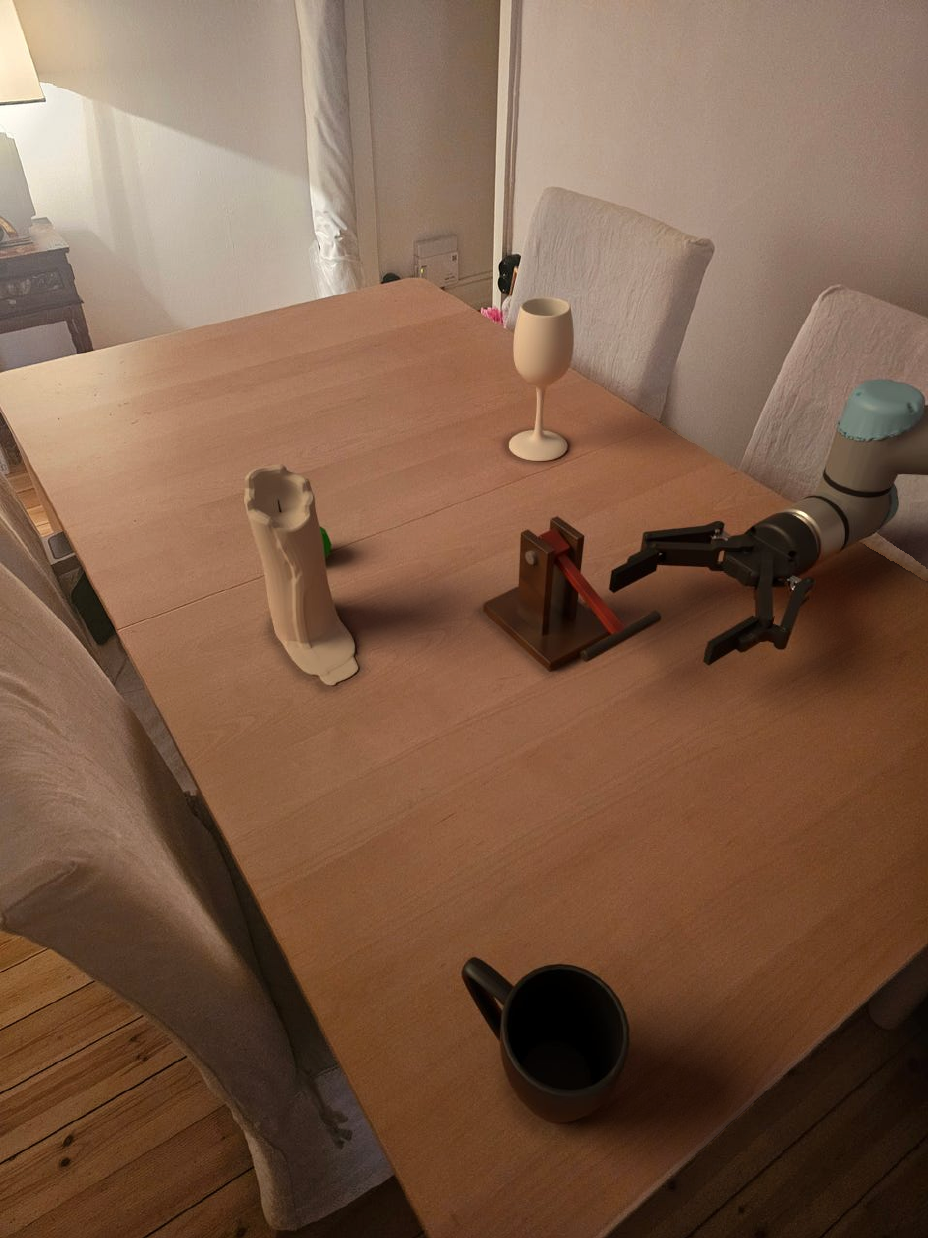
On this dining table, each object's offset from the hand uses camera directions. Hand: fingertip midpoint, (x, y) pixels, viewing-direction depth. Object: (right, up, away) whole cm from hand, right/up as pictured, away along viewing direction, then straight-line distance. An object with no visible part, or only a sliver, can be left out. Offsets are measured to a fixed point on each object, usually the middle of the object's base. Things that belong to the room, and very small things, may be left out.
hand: (657, 616), depth 84 cm
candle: (-36, -3, +8) cm, 37 cm away
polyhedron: (-39, +7, +19) cm, 44 cm away
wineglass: (-9, +25, +38) cm, 46 cm away
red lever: (-8, +2, +1) cm, 8 cm away
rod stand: (-11, -1, +9) cm, 14 cm away
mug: (-15, -33, -25) cm, 44 cm away
